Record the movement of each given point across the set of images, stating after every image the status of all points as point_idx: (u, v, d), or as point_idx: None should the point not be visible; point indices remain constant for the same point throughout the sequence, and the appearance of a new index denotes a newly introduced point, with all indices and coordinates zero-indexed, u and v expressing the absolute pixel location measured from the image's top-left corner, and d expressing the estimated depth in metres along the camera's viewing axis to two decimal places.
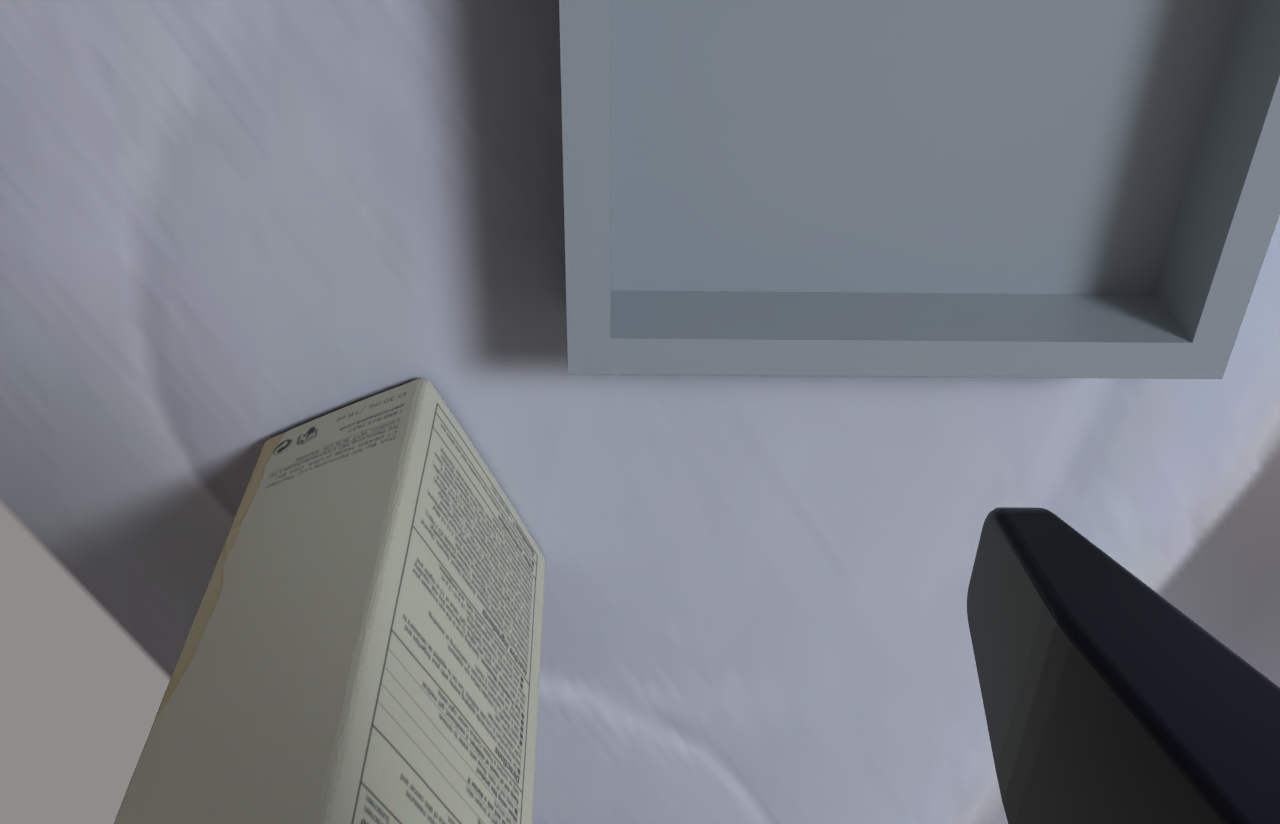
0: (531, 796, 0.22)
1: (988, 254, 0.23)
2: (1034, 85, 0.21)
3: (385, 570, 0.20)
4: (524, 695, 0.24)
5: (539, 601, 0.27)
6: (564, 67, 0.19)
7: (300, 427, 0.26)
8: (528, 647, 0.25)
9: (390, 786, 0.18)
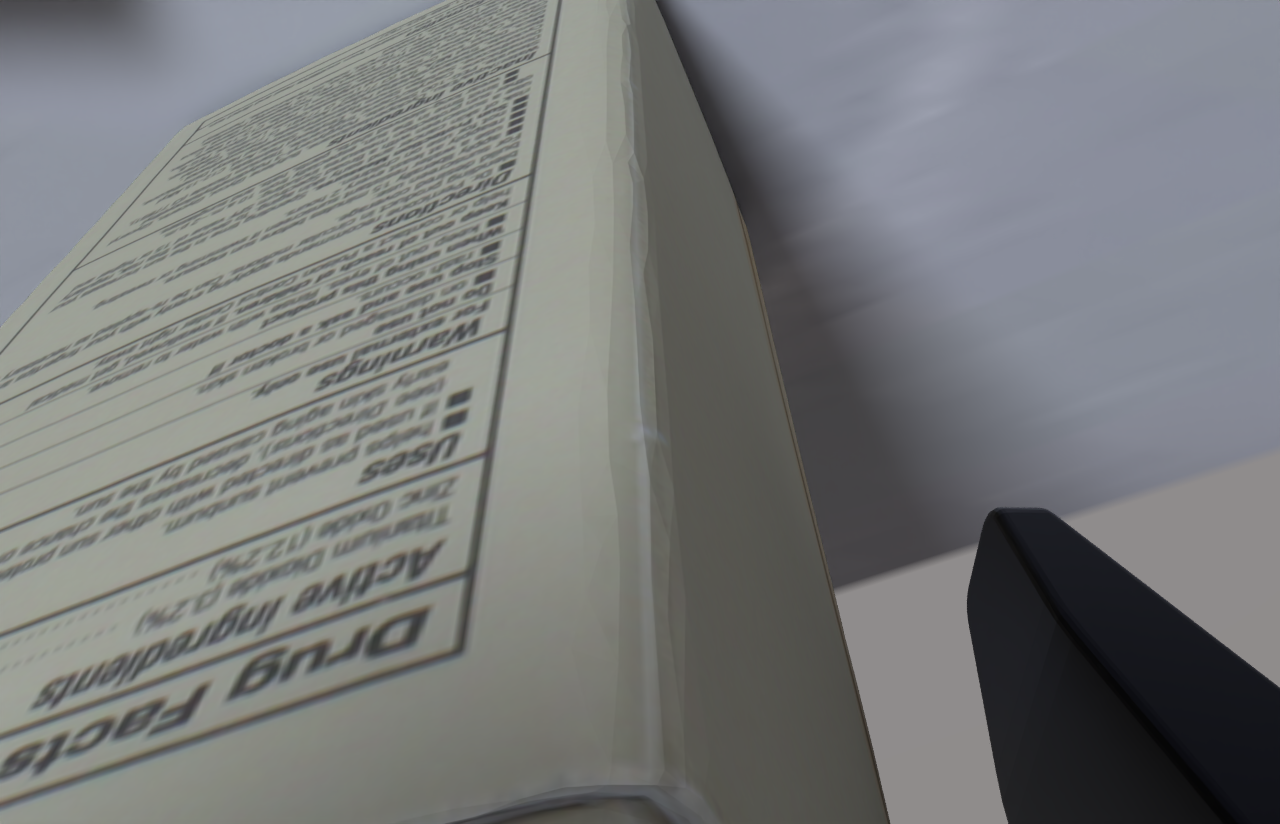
0: (589, 141, 0.07)
1: None
2: None
3: None
4: (526, 77, 0.09)
5: None
6: None
7: None
8: (542, 28, 0.10)
9: None
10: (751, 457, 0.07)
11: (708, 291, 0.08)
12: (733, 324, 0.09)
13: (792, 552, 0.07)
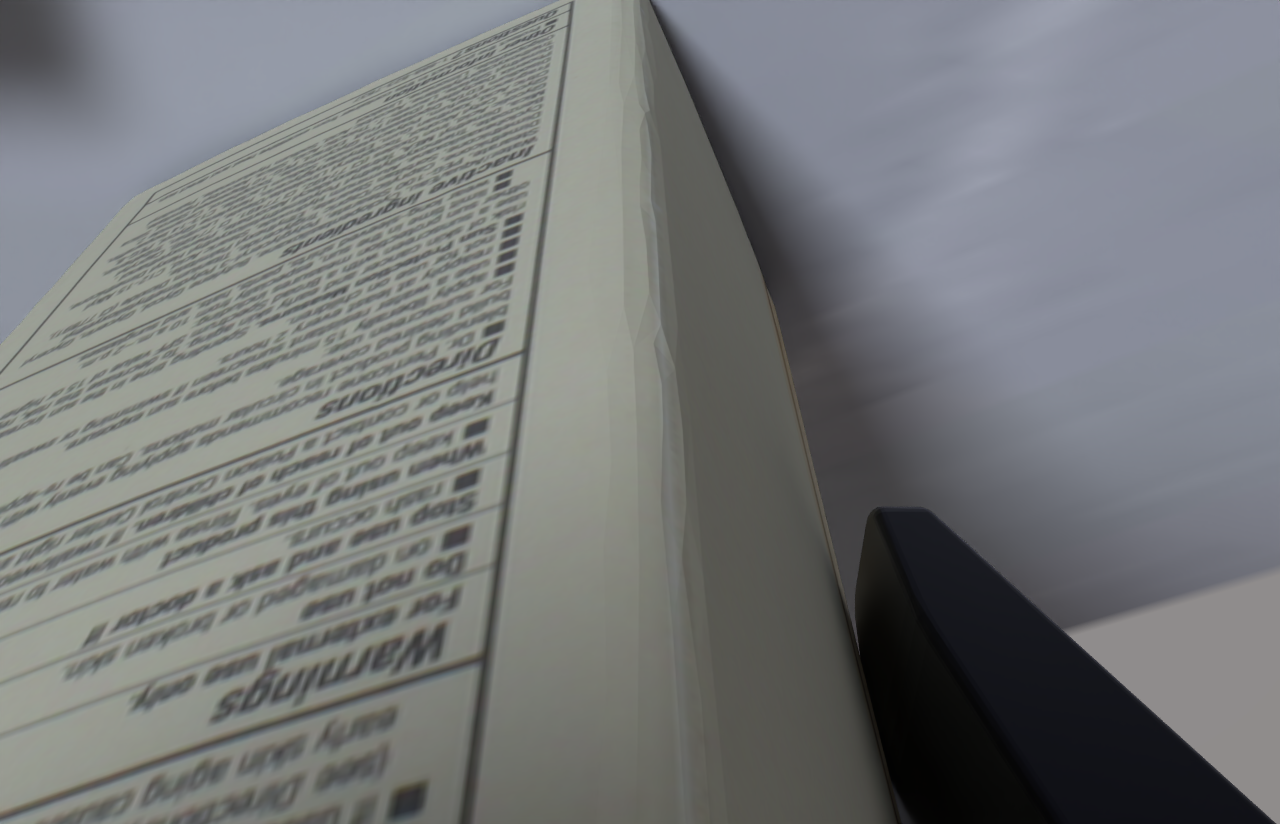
0: (601, 304, 0.06)
1: None
2: None
3: None
4: (522, 186, 0.07)
5: (592, 29, 0.10)
6: None
7: None
8: (542, 111, 0.09)
9: None
10: (820, 748, 0.05)
11: (754, 485, 0.06)
12: (780, 504, 0.07)
13: None
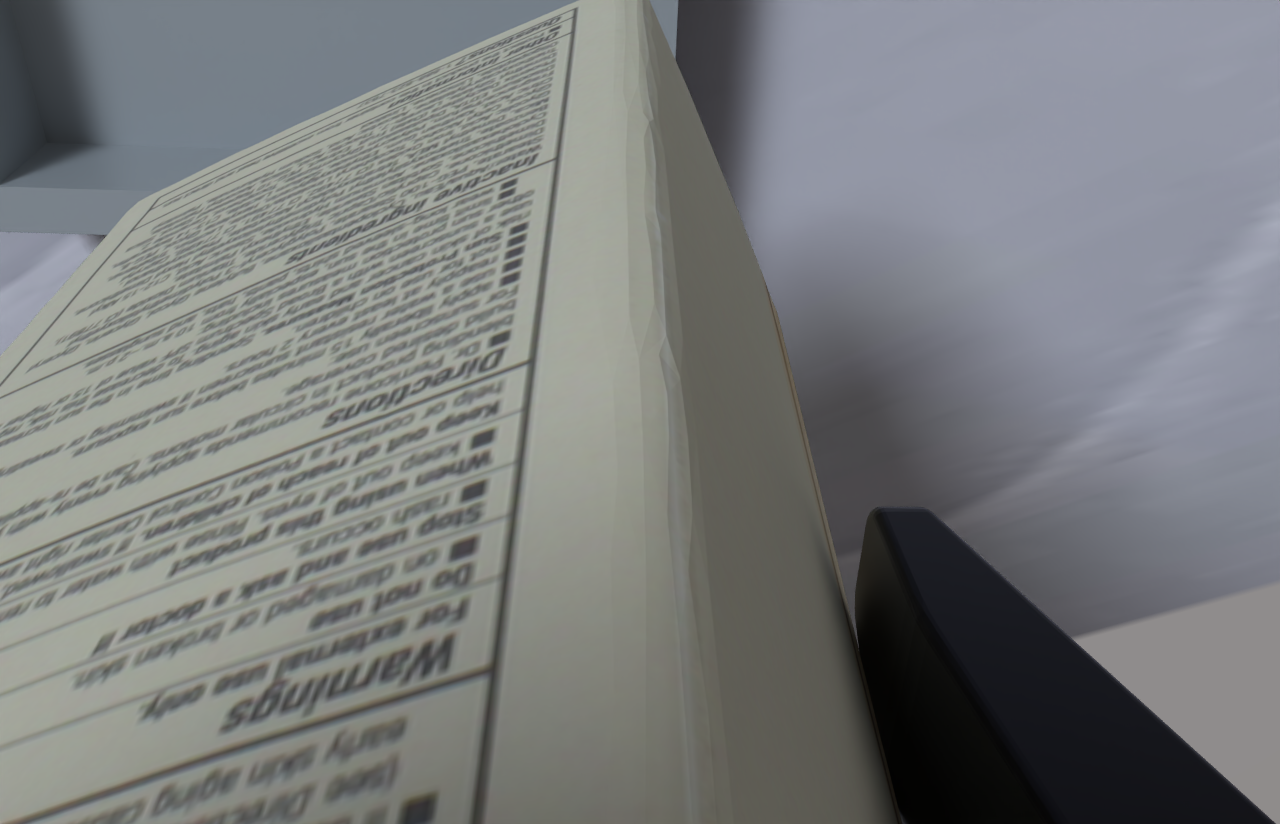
0: (607, 315, 0.06)
1: None
2: None
3: None
4: (526, 193, 0.07)
5: (597, 35, 0.10)
6: None
7: None
8: (547, 119, 0.09)
9: None
10: (824, 757, 0.05)
11: (758, 494, 0.06)
12: (784, 512, 0.07)
13: None
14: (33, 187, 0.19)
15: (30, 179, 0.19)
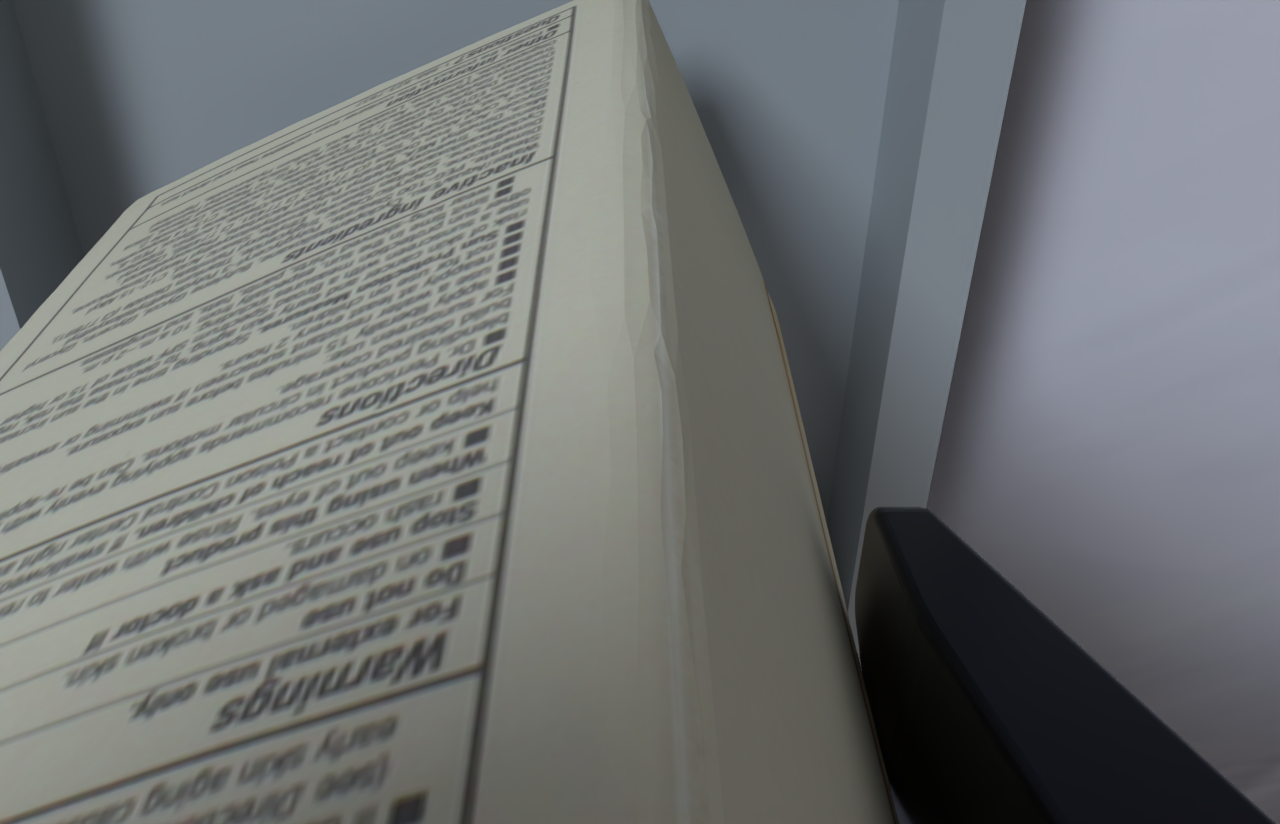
0: (602, 313, 0.06)
1: (820, 20, 0.13)
2: None
3: None
4: (522, 193, 0.07)
5: (594, 34, 0.10)
6: None
7: None
8: (544, 117, 0.09)
9: None
10: (819, 757, 0.05)
11: (754, 493, 0.06)
12: (780, 512, 0.07)
13: None
14: None
15: None
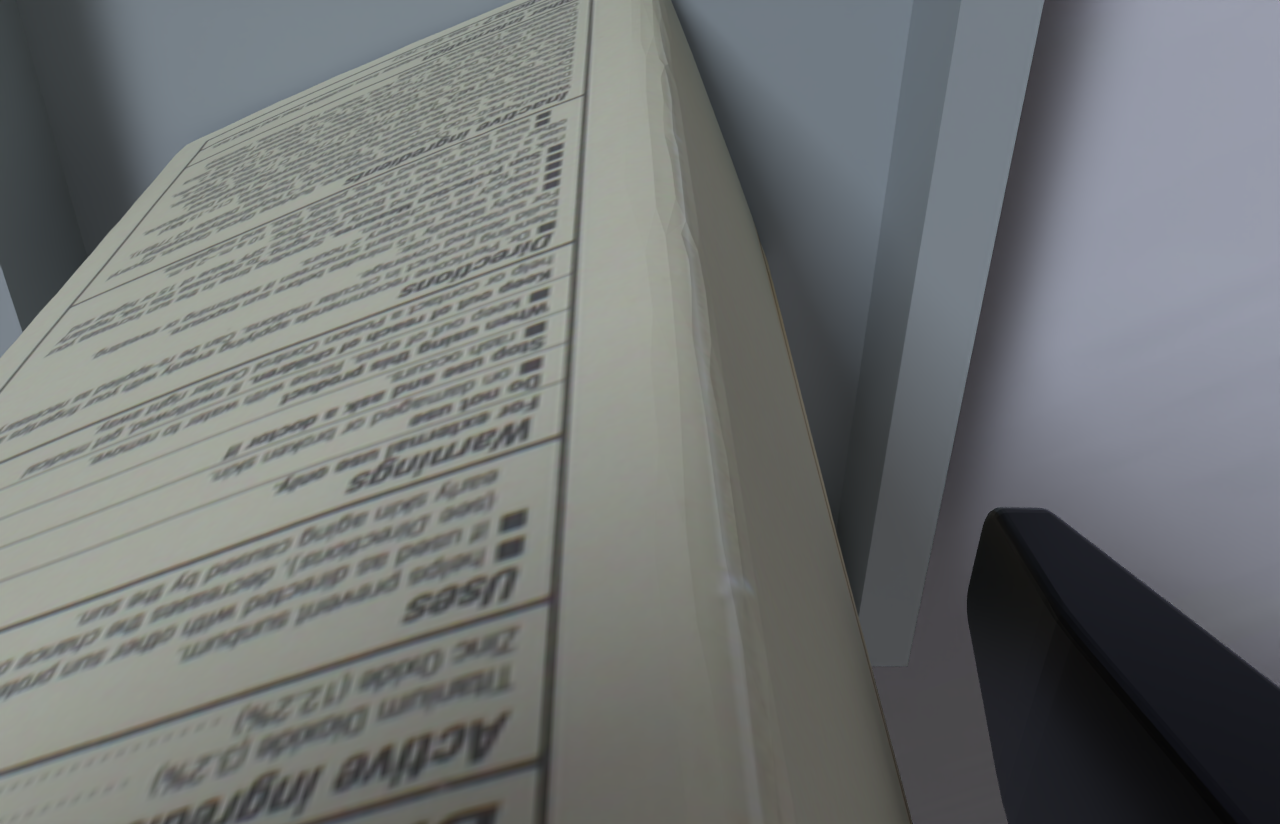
0: (637, 205, 0.07)
1: (832, 28, 0.13)
2: None
3: None
4: (559, 122, 0.09)
5: None
6: None
7: None
8: (572, 63, 0.10)
9: None
10: (808, 556, 0.06)
11: (756, 364, 0.07)
12: (776, 392, 0.08)
13: (846, 654, 0.07)
14: None
15: None
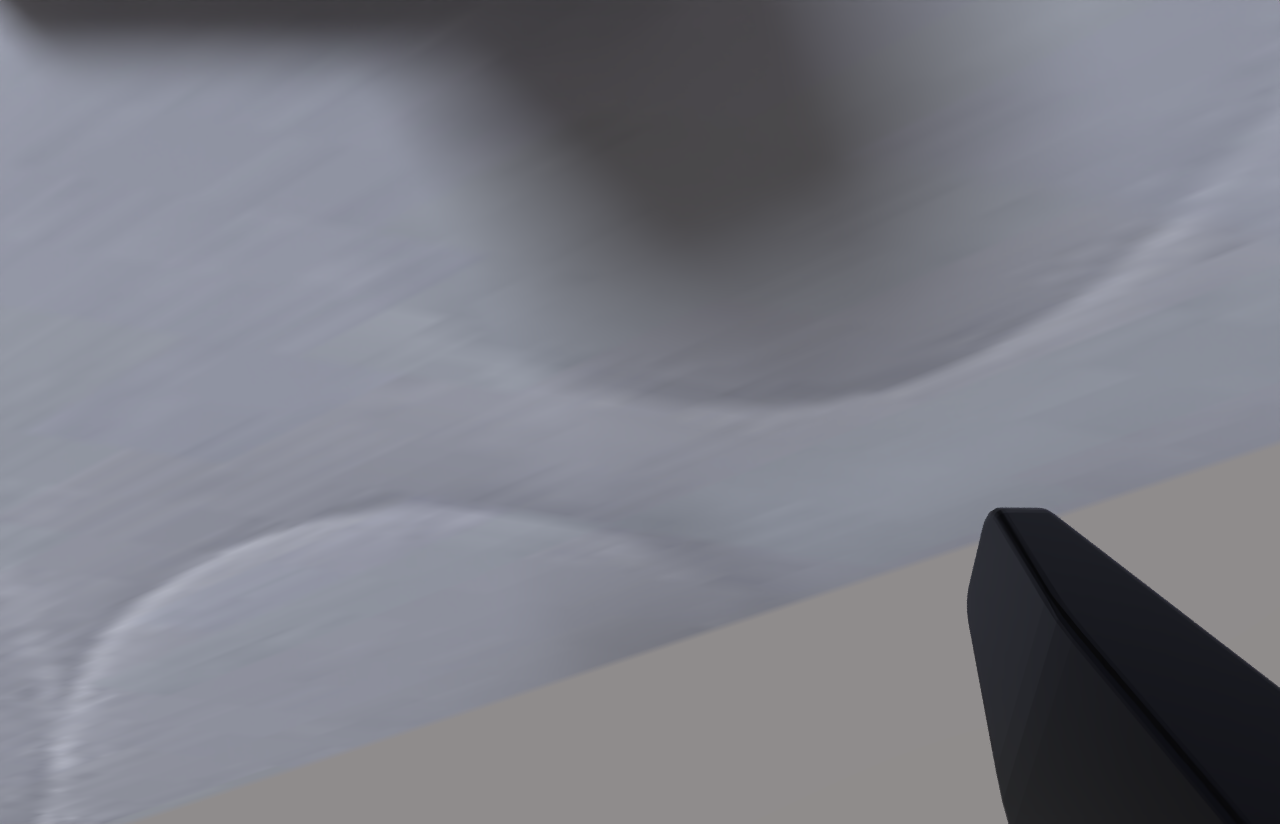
0: None
1: None
2: None
3: None
4: None
5: None
6: None
7: None
8: None
9: None
10: None
11: None
12: None
13: None
14: None
15: None
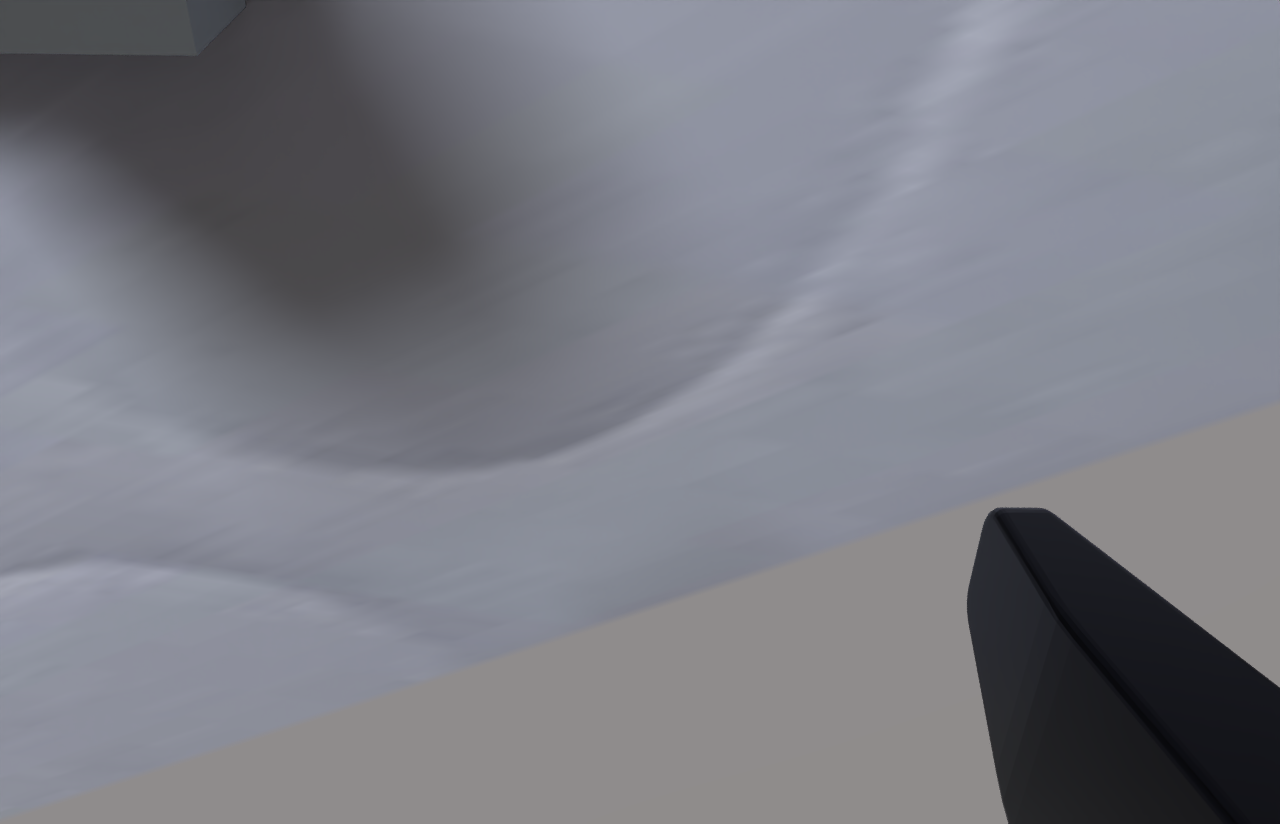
0: None
1: None
2: None
3: None
4: None
5: None
6: None
7: None
8: None
9: None
10: None
11: None
12: None
13: None
14: None
15: None
